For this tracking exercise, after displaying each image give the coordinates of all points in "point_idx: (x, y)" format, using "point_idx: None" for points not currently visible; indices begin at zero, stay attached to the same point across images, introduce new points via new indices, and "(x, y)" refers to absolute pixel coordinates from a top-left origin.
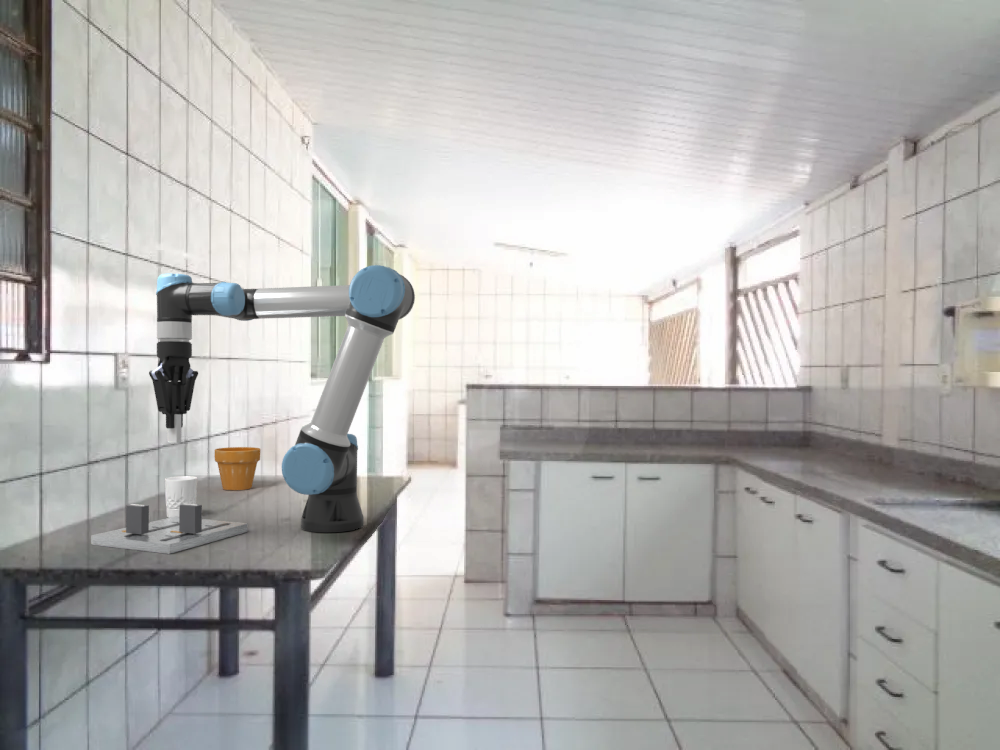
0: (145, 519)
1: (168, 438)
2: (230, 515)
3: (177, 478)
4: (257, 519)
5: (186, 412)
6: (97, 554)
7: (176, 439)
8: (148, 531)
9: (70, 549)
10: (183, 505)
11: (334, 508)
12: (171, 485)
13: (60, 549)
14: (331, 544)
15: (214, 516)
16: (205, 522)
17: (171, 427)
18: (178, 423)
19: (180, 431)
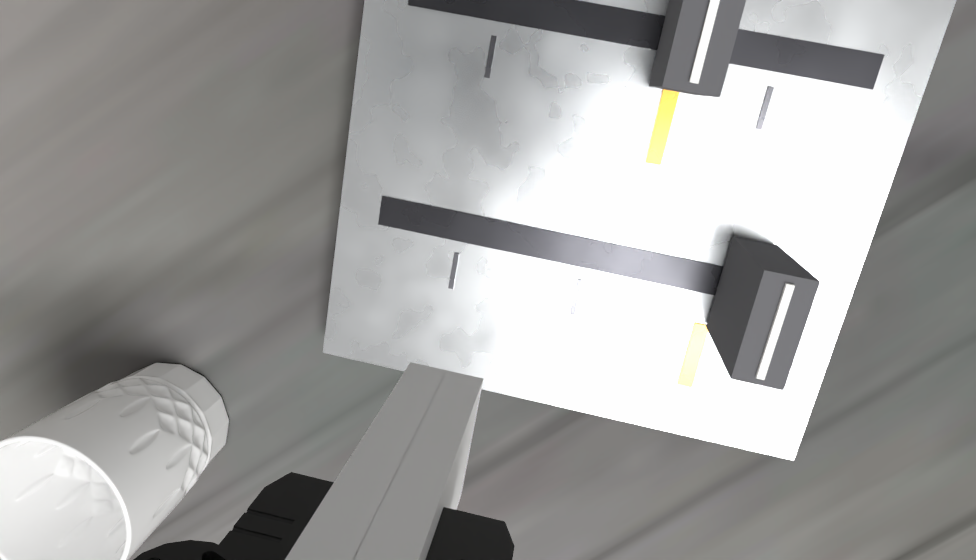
0: (768, 256)
1: (456, 507)
2: (82, 211)
3: (19, 556)
4: (113, 24)
5: (157, 553)
6: (964, 307)
7: (477, 396)
8: (733, 237)
9: (878, 465)
10: (727, 64)
11: None
12: (147, 508)
13: (882, 500)
14: None
15: (128, 271)
16: (414, 126)
17: (498, 528)
18: (390, 504)
19: (389, 425)
